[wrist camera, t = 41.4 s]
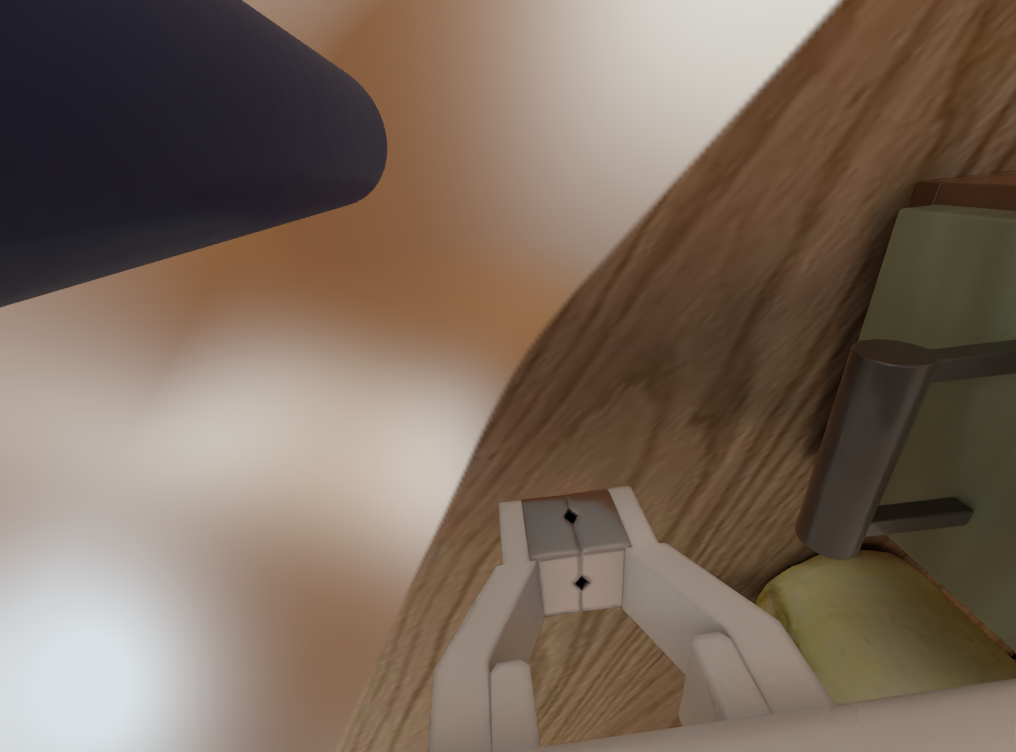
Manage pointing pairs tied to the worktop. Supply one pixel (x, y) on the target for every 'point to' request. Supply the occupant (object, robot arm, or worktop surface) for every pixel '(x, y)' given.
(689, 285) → the worktop surface
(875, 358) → the drawer
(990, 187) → the cabinet
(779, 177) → the worktop surface
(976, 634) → the mug
